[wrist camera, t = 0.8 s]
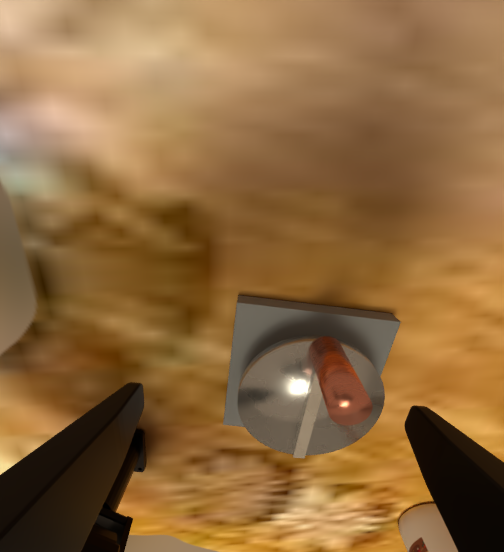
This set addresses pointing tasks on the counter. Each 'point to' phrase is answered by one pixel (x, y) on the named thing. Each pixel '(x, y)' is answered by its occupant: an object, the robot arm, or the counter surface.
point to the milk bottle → (425, 530)
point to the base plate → (301, 334)
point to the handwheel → (310, 395)
